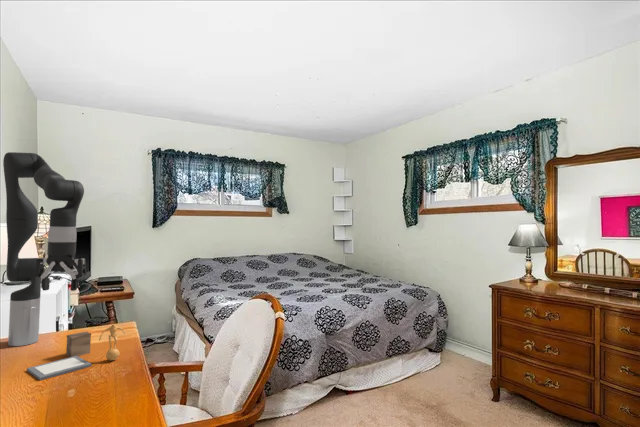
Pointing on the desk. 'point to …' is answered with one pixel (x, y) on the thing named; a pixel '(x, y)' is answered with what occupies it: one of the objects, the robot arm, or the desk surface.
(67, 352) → the walnut box
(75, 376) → the desk surface
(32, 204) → the robot arm
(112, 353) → the figurine
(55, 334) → the desk surface
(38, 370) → the mat
